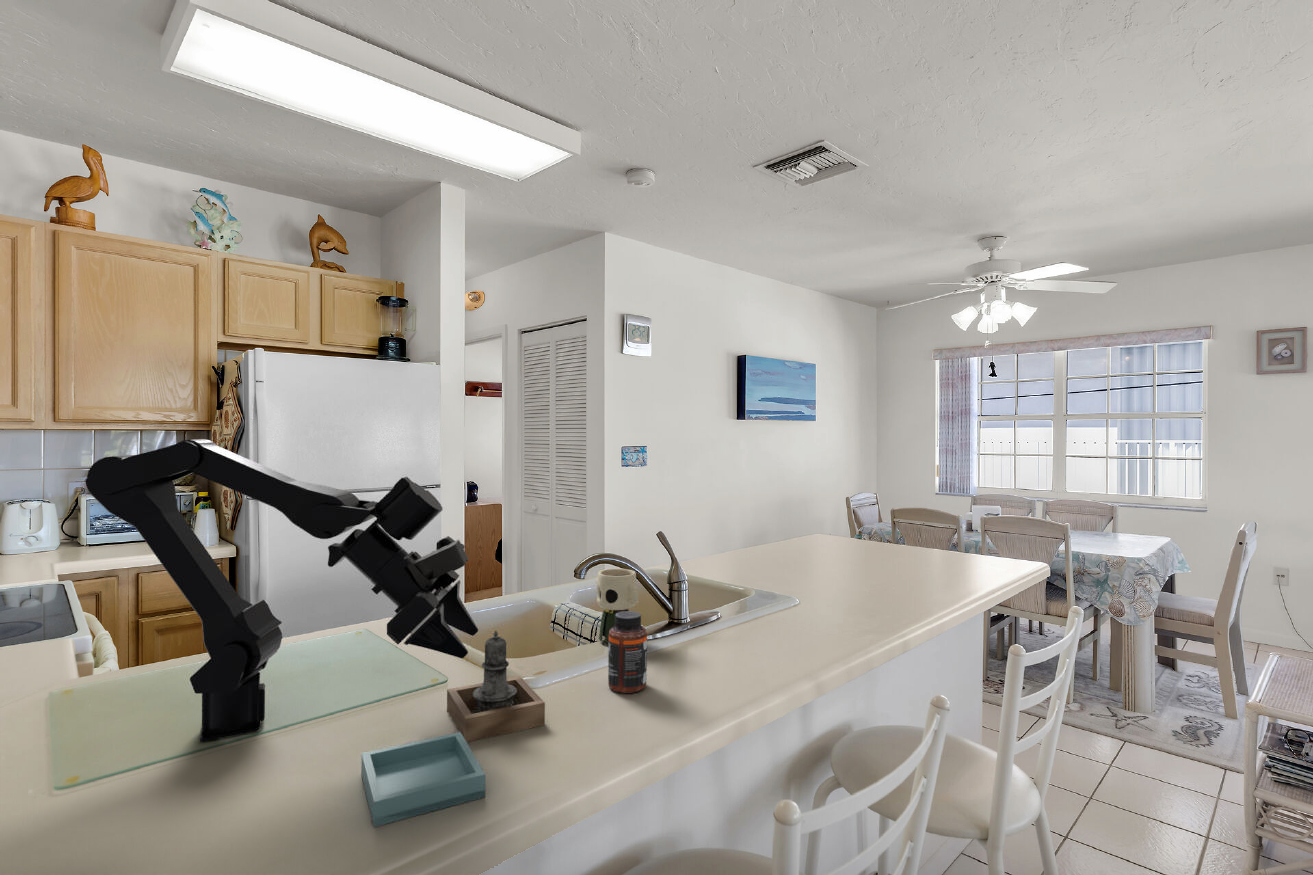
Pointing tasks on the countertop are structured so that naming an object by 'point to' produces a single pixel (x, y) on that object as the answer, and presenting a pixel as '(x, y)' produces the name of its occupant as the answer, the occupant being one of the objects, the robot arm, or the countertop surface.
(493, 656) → the salt shaker
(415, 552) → the robot arm
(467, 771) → the tray
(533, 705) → the box
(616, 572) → the character mug
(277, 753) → the countertop surface
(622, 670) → the supplement bottle
